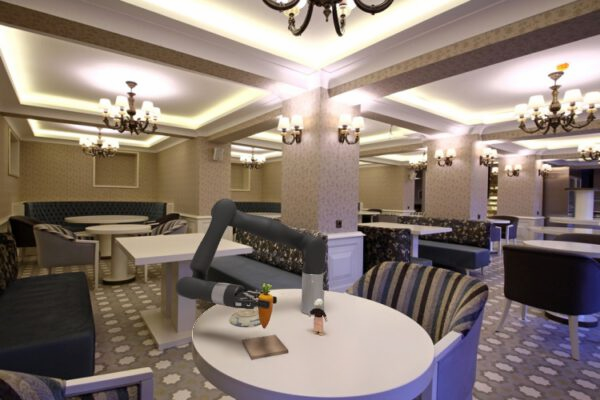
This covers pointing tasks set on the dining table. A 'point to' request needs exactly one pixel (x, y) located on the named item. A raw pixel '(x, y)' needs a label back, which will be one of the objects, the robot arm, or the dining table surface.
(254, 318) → the decorative bowl
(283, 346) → the walnut board
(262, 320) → the carrot
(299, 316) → the dining table surface
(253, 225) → the robot arm
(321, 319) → the grandmother figurine
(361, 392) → the dining table surface
